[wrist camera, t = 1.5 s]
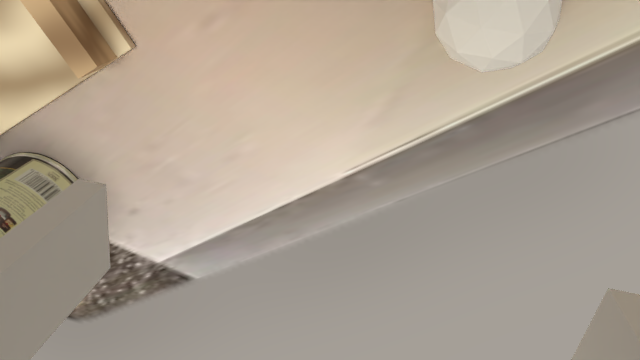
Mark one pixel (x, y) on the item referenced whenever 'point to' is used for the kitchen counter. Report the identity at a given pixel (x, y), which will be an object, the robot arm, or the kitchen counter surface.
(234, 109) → the kitchen counter surface
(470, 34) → the ball
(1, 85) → the cradle
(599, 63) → the kitchen counter surface
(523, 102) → the kitchen counter surface
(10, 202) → the coffee can
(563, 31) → the kitchen counter surface
